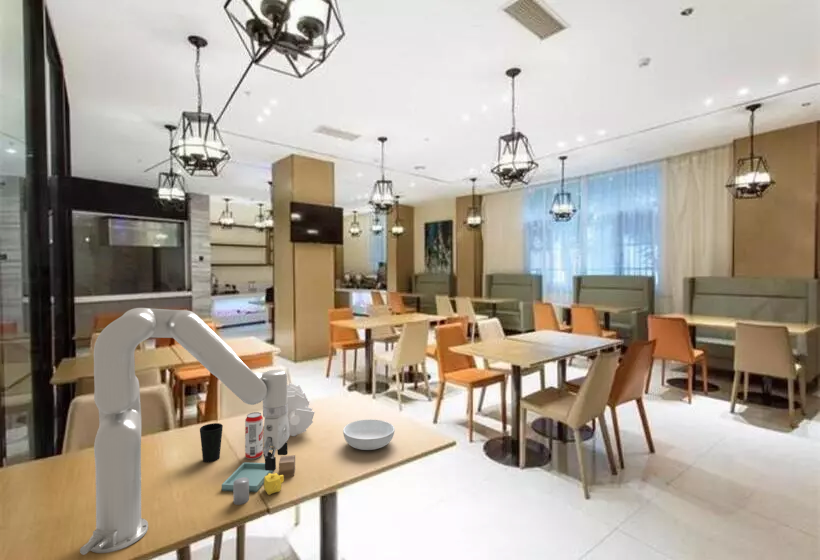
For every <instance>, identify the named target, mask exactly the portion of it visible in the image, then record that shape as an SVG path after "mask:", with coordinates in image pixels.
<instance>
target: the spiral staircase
mask: <svg viewBox="0 0 820 560" xmlns="http://www.w3.org/2000/svg"><path fill="white" fill-rule="evenodd" d="M287 400H288V420H289V434H290V435H289V437H297V435H300V434H303V433H305V432H307V429H308V428H309V427H310V426H312V424H313V423H314V421H313V420H314V415H315V413H316V411H314V410H313V407H309V405H310V401H309V400H308V398H307V395H306V393H305V392H304V391H303V390H302V388H301V386H300V385H296V384H294V383H292V382H289V384H287Z"/></svg>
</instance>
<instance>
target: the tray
mask: <svg viewBox="0 0 820 560" xmlns="http://www.w3.org/2000/svg"><path fill="white" fill-rule="evenodd" d="M269 473H271V474H274V471H267V470H265V462H248V461H247V462H246V461H245V462H244V461H243V462H242V463H241V464H240V465H239V466H238V467H237V468H236V469H235V470H234V471H233V472H232V474H231V475H229V476H228V478H227V479H225V481H224V482H223V483H222V484H221V492H222V491H223V492H233V482H234V481H235V480H236V479H239V478H243V477H245V478H248V479H249V493H258V491H259V490H260V489H261V488H262V487H263V486H264V477H265V476H267V475H268V474H269Z"/></svg>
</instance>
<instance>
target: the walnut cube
mask: <svg viewBox="0 0 820 560" xmlns="http://www.w3.org/2000/svg"><path fill="white" fill-rule="evenodd" d="M295 472H296V454H295V455H294V454H292V455H280V458H279V461H278V475H283V476H284V478H285V477H286V478H287V477H294V476H295Z"/></svg>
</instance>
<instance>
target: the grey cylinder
mask: <svg viewBox="0 0 820 560" xmlns="http://www.w3.org/2000/svg"><path fill="white" fill-rule="evenodd" d="M232 492H233V494H232V495H233V496H232V497H233V502H232V503H233V504H234V505H235V506H236V505H237V506H239V505H244V504H246V503H248V502H249V500H250V492H249V479H248V478H245V477H243V478H239V479H236V480H235V481H234V482H233V491H232Z"/></svg>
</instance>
